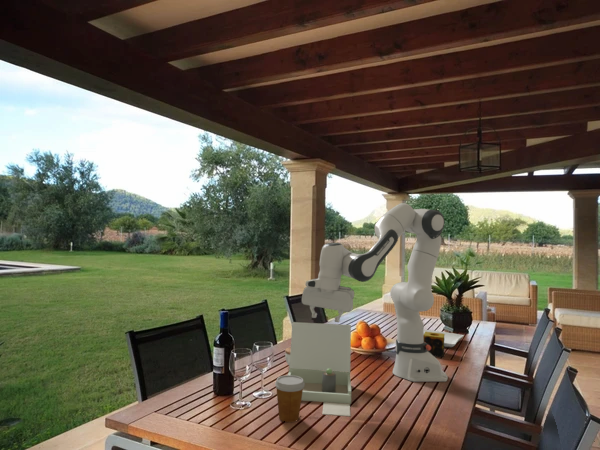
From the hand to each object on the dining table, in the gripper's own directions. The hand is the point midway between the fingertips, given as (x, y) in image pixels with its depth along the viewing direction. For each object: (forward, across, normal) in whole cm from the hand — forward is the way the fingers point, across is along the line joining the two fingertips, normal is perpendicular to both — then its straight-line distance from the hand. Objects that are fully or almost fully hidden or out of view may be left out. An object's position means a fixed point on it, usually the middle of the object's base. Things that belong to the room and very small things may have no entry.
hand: (325, 319), depth 154 cm
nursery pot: (+25, -6, +6) cm, 26 cm away
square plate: (+24, -36, -98) cm, 107 cm away
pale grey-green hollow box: (+26, -1, +3) cm, 26 cm away
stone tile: (+25, -13, +18) cm, 33 cm away
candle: (+24, -37, -70) cm, 83 cm away
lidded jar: (+28, +17, -18) cm, 37 cm away
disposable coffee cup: (+26, -1, +30) cm, 40 cm away
